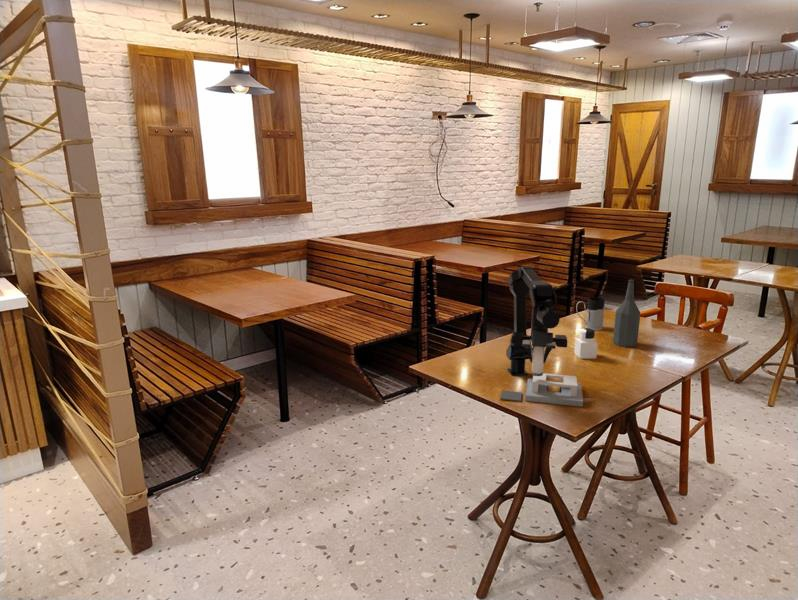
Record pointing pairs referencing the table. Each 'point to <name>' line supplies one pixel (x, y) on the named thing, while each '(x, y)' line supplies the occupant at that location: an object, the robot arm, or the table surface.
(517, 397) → the pad
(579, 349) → the medicine bottle
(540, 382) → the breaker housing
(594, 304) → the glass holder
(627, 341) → the bottle
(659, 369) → the table surface
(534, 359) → the white cylinder
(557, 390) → the button
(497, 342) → the table surface
